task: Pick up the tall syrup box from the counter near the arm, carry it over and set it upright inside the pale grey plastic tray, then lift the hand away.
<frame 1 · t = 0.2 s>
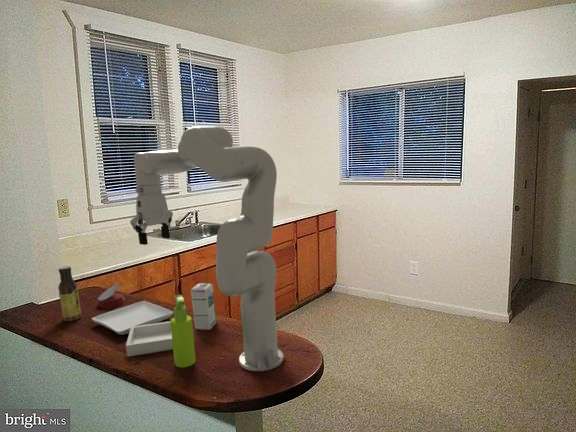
hand: (155, 241, 141), 31 cm above the counter, tool pointing down, fingers open, 9 cm apart
tray: (153, 342, 135), on the counter
sauce bottle: (72, 319, 158), on the counter
soap dispenser: (185, 363, 121), on the counter
syrup box: (205, 326, 145), on the counter
salad plate: (133, 323, 152), on the counter
canned food: (111, 304, 172), on the counter
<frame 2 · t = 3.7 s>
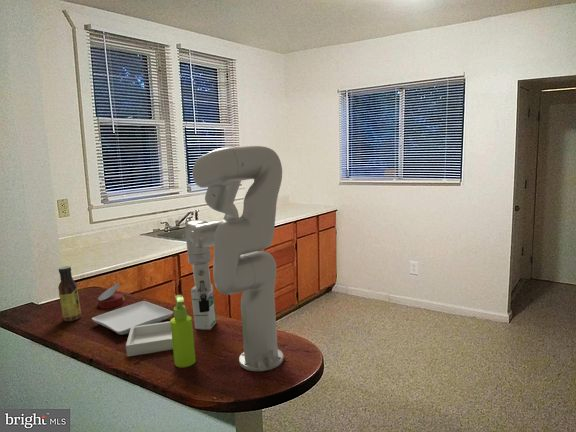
hand: (204, 307, 144), 7 cm above the counter, tool pointing down, fingers closed on syrup box, 7 cm apart
syrup box: (205, 326, 145), on the counter, touching gripper
everything else where it was.
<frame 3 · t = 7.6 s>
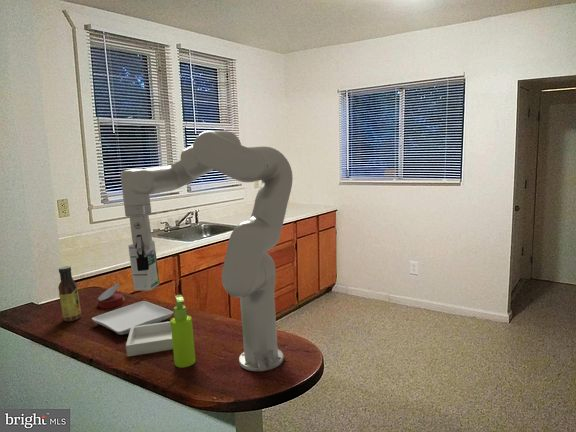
hand: (144, 266, 130), 25 cm above the counter, tool pointing down, fingers closed on syrup box, 7 cm apart
syrup box: (147, 288, 132), point 18 cm above the counter, touching gripper
everything else where it was.
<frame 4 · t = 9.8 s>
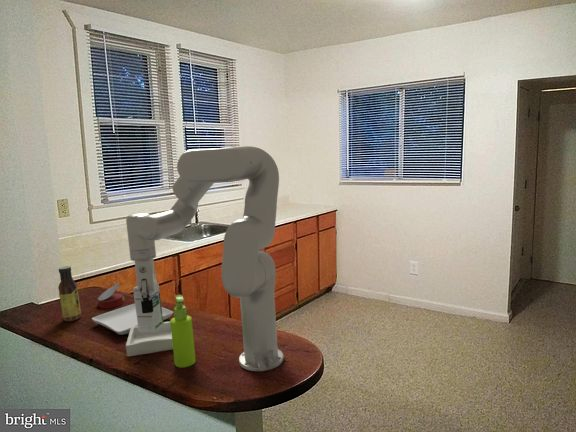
hand: (148, 307, 133), 12 cm above the counter, tool pointing down, fingers closed on syrup box, 7 cm apart
syrup box: (151, 328, 134), point 5 cm above the counter, touching gripper
everything else where it was.
when the fingers open (9 cm above the counter, at t = 11.5 s): syrup box drops 1 cm, resting on tray.
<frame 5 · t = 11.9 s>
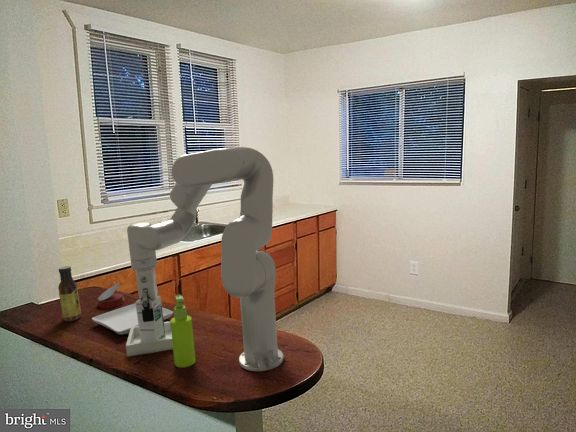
hand: (149, 315, 133), 9 cm above the counter, tool pointing down, fingers open, 9 cm apart
syrup box: (153, 341, 134), resting on tray
everything else where it was.
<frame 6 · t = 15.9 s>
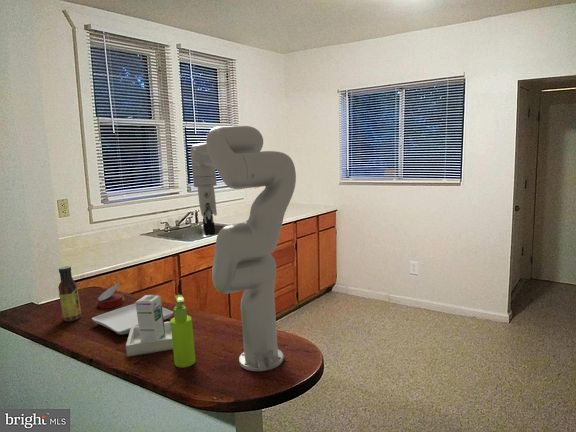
hand: (209, 232, 143), 32 cm above the counter, tool pointing down, fingers open, 9 cm apart
nothing on the counter moved.
at the end: syrup box inside the target area on the tray (0.3 cm from its centre), point 0.4 cm above the tray's base; syrup box tilted 0°; the gripper is holding nothing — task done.
